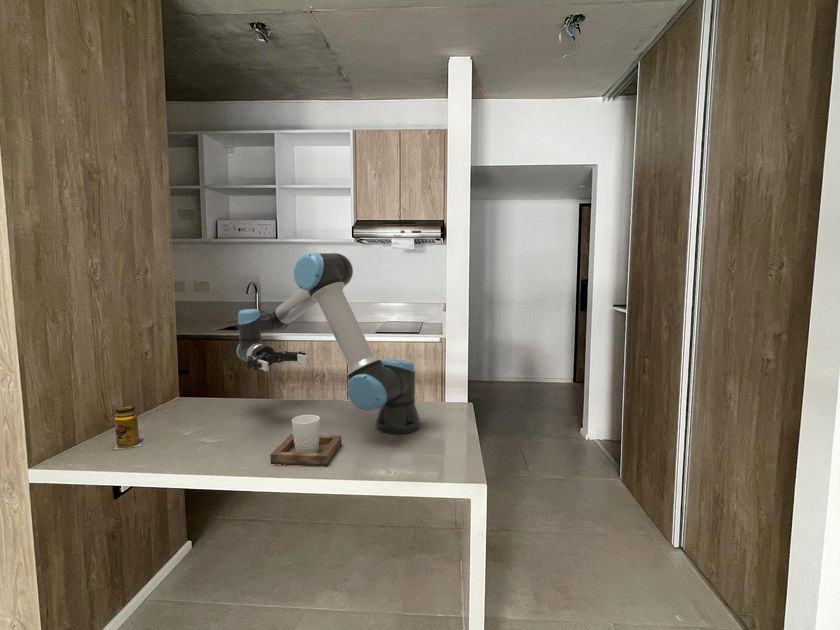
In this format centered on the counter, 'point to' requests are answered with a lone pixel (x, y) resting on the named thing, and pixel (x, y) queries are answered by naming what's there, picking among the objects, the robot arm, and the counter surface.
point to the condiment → (127, 428)
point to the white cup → (306, 433)
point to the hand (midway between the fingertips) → (287, 363)
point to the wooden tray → (322, 458)
